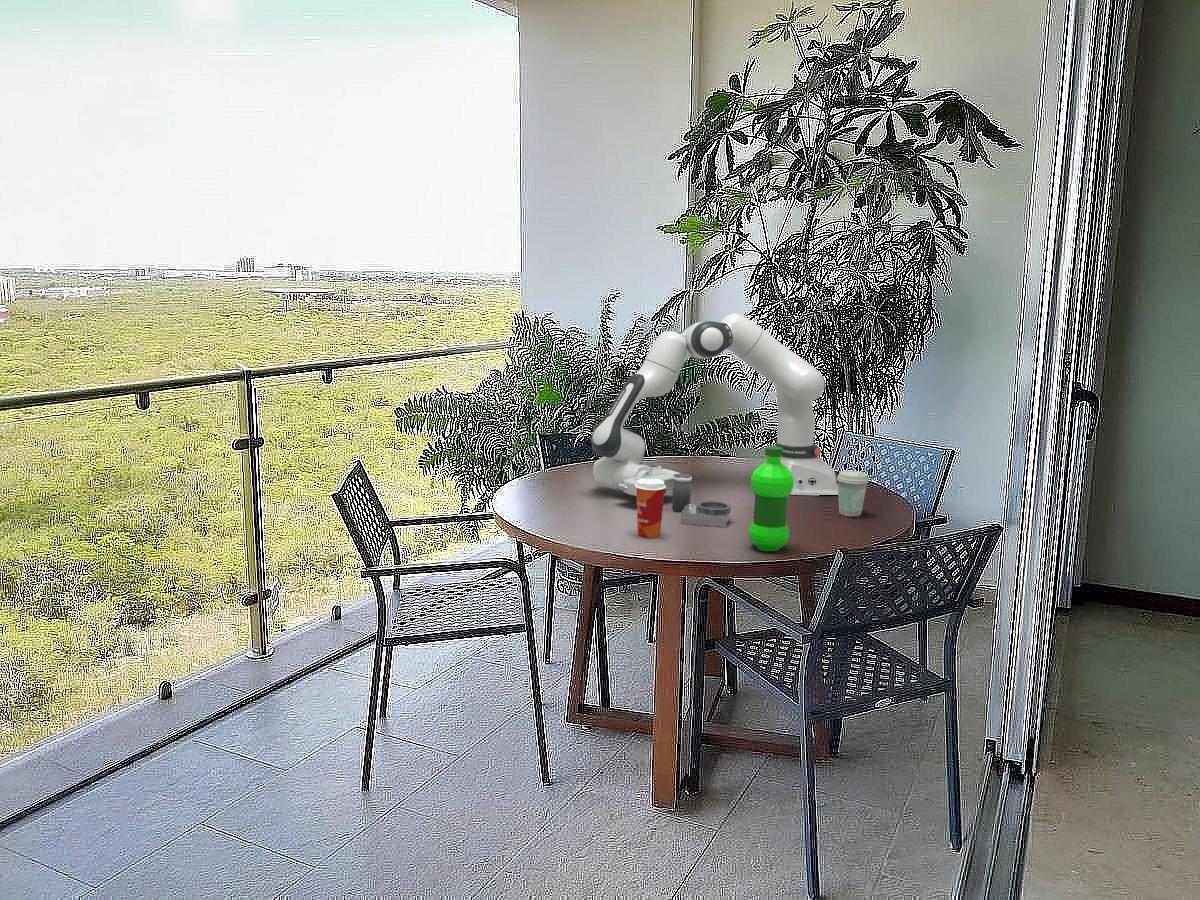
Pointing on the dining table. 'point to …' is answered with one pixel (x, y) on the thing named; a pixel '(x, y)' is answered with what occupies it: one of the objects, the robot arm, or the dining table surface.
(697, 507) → the camera body
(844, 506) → the coffee cup
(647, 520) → the paper cup
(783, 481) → the plastic bottle
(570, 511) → the dining table surface
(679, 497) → the lens
